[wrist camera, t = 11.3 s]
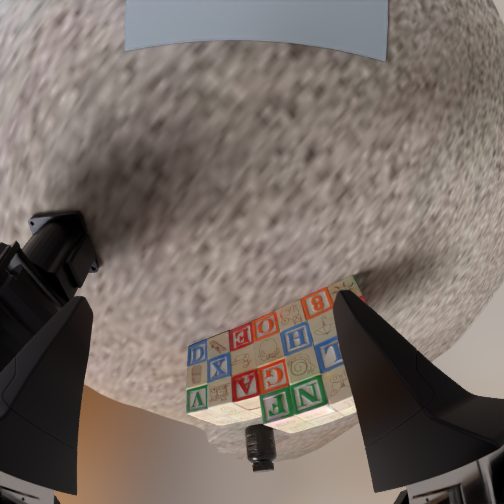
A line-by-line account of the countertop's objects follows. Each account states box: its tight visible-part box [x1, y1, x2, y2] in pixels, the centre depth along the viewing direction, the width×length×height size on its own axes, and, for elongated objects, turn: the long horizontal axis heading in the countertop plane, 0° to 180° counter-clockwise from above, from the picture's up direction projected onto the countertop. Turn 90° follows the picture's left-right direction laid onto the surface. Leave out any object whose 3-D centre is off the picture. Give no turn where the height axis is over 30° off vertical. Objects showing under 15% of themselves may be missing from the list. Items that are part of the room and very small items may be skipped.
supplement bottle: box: [245, 424, 277, 472], centre depth 53 cm, size 7×7×12 cm
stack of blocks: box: [186, 275, 367, 433], centre depth 27 cm, size 21×6×12 cm, turn 120°
